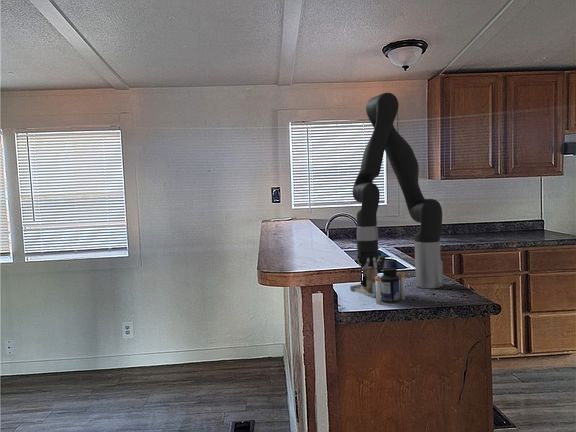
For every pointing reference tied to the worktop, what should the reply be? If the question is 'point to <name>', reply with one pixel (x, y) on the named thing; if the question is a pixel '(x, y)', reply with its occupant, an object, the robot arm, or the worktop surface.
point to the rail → (358, 289)
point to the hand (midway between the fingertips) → (368, 285)
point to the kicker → (370, 281)
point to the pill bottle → (390, 286)
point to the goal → (378, 287)
